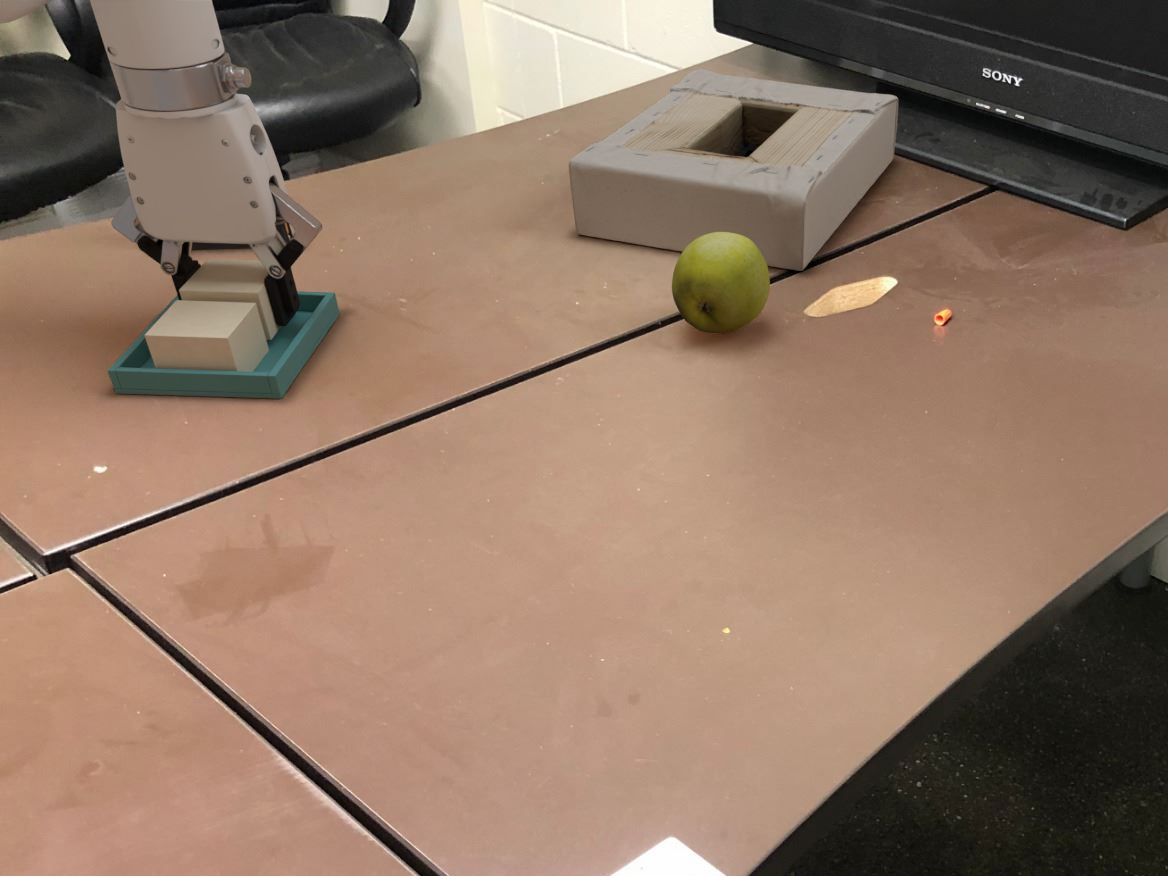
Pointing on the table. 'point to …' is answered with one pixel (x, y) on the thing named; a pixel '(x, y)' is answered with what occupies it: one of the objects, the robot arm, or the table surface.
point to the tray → (265, 381)
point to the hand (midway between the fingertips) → (244, 315)
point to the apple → (720, 282)
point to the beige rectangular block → (233, 287)
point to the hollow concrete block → (736, 166)
